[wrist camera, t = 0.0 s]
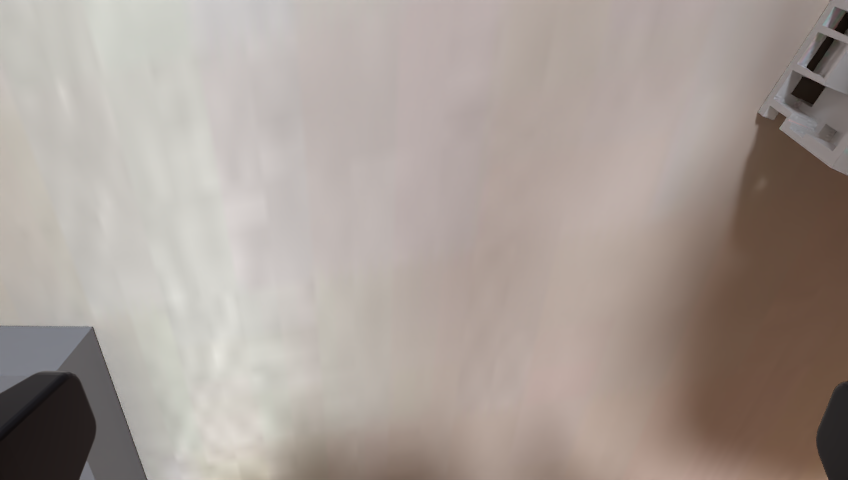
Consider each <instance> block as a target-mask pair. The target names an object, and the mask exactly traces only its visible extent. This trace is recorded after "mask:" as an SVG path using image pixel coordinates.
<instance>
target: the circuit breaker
mask: <svg viewBox="0 0 848 480" xmlns="http://www.w3.org/2000/svg"><path fill="white" fill-rule="evenodd" d="M846 12H848V0H831V1H830V3H829V4H828V6H827V7H826V9H825V10H824V12H823V13H822V15H821V16H820V18H819V20H818V21H817V23H816V24H815V26H814V27H813V29H812V30H811V32H810V33H809V35H808V36H807V38H806V39H805V41H804V42H803V44H802V46H801V47H800V49H799V50H798V52H797V53H796V55H795V56H794V58H793V59H792V61H791V62H790V64H789V65H788V67H787V68H786V70H785V71H784V73H783V75H782V76H781V78H780V79H779V81H778V82H777V84H776V85H775V87H774V88H773V90H772V91H771V93H770V94H769V96H768V97H767V99H766V101H765V102H764V104H763V105H762V107H761V108H760V110H759V111H758V113H759V114H760V115H762V116H763V117H766V118H768V119H771V120H774V119H775V118H776V116H777V115H778V113H779V112H780V113H781V114H783V115H784V116H785V117H787V118H786V119H785V121H784V122H783V124H782V125H781V126H780V128H779V129H780V130H781V131H783V132H784V133H785V134H787V135H788V136H789V137H791V138H792V139H793V140H795V141H796V142H797V143H799V144H800V145H801V146H802V147H804V148H805V149H806V150H808V151H809V152H810V153H812V154H813V155H814V156H816V157H817V158H818V159H820V160H821V161H822V162H824V163H825V164H826V165H827V166H829V167H830V168H832V169H834V170H836V171H838V172H841V173H843V174H845V175H847V176H848V29H847V30H846V32H845V33H844V34H842V33H839V32H837V31H834V30H835V28H836V27H837V25H838V24H839V22H840V21H841V19H842V18H843V16H844V15H845V13H846ZM827 36H829V37H832V38H834V39H835V40H834V41H833V43H832V44H831V46H830V47H829V48H828V50H827V51H826V53H825V54H824V56H823V57H822V59H821V60H820V62H819V63H818V65H817V66H816V68H815V69H814V71H813V72H812V71H810V70H809V69H808V68H806V67H807V65H808V64H809V62H810V61H811V59H812V58H813V56H814V55H815V53H816V52H817V50H818V49H819V47H820V46H821V44H822V43H823V41H824V40H825V38H826V37H827ZM802 77H806V78H810V79H812V80H814V81H816V82H818V83H820V84H822V85H824V86H826V87H825V89H824V90H823V92H822V93H821V94H820V96H819V97H818V99H817V100H816V102H815V103H814V105H813V104H811V103H808V102H806V101H804V100H802V99H800V98H798V97H796V96H793V95H791V93H792V91H793V90H794V88H795V87H796V85H797V84H798V82H799V81H800V79H801V78H802Z"/></svg>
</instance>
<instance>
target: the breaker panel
mask: <svg viewBox="0 0 848 480" xmlns="http://www.w3.org/2000/svg"><path fill="white" fill-rule="evenodd" d="M41 371H70V372H73V373H75V374H76V375H77V376H78V377H79V378H80V380H81V382H82V385H83V387H84V390H85V392H86V395H87V397H88V400H89V403H90V405H91V408H92V410H93V413H94V415H95V419H96V425H97V429H96V436H95V440H94V443H93V446H92V448H91V451H90V453H89V456H88V458H87V461H86V464H85V466H84V469H83V471H82V474H81V477H80V479H79V480H147V479H146V476H145V474H144V471H143V468H142V465H141V462H140V460H139V457H138V454H137V451H136V448H135V446H134V443H133V440H132V437H131V434H130V431H129V429H128V426H127V423H126V420H125V417H124V415H123V412H122V409H121V406H120V403H119V401H118V398H117V395H116V392H115V389H114V386H113V384H112V381H111V378H110V375H109V372H108V370H107V367H106V364H105V361H104V358H103V356H102V353H101V350H100V347H99V344H98V341H97V339H96V336H95V333H94V330H93V327H39V326H0V393H2V392H3V391H5V390H7V389H9V388H10V387H12V386H14V385H15V384H17V383H19V382H21V381H22V380H24V379H26V378H28V377H29V376H31V375H33V374H35V373H37V372H41Z"/></svg>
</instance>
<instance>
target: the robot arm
mask: <svg viewBox="0 0 848 480" xmlns="http://www.w3.org/2000/svg"><path fill="white" fill-rule="evenodd" d="M96 429H97V425H96V419H95V415H94V413H93V410H92V408H91V405H90V403H89V400H88V397H87V395H86V392H85V390H84V387H83V385H82V382H81V380H80V378H79V377H78V376H77V375H76V374H75V373H73V372H70V371H41V372H37V373H35V374H33V375H31V376H29V377H28V378H26V379H24V380H22V381H21V382H19V383H17V384H15V385H14V386H12V387H10V388H9V389H7V390H5V391H3V392H2V393H0V480H79V479H80V477H81V474H82V471H83V469H84V466H85V464H86V461H87V458H88V456H89V453H90V451H91V448H92V446H93V443H94V440H95V436H96ZM816 442H817V449H818V453H819V456H820V459H821V461H822V464H823V467H824V469H825V472H826V474H827V477H828V480H848V381H847V382H843V383H840V384H839V385H838V386H837V387H836V388H835V389H834V391H833V394H832V396H831V398H830V401H829V403H828V406H827V408H826V411H825V413H824V416H823V418H822V421H821V423H820V426H819V428H818V431H817V438H816Z"/></svg>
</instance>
